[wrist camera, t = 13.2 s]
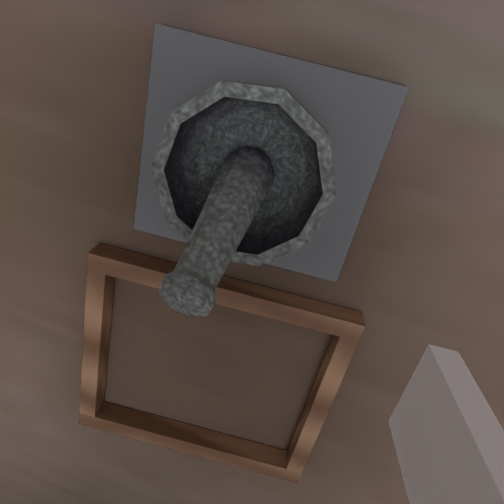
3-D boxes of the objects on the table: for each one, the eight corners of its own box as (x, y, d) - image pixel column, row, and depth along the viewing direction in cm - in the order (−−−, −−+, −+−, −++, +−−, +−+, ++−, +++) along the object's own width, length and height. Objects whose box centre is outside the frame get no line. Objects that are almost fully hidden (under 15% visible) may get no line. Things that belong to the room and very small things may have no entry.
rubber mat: (335, 276, 31) (336, 282, 30) (138, 224, 31) (133, 228, 30) (405, 86, 25) (409, 87, 24) (160, 25, 25) (155, 23, 24)
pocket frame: (297, 464, 40) (297, 483, 38) (89, 408, 40) (78, 423, 38) (361, 311, 32) (365, 326, 30) (100, 243, 32) (87, 253, 30)
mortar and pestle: (222, 50, 24) (154, 31, 13) (356, 119, 25) (395, 153, 14) (163, 206, 29) (78, 285, 18) (277, 260, 30) (261, 368, 19)
